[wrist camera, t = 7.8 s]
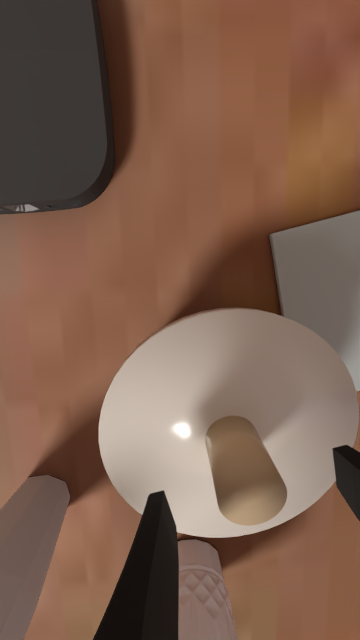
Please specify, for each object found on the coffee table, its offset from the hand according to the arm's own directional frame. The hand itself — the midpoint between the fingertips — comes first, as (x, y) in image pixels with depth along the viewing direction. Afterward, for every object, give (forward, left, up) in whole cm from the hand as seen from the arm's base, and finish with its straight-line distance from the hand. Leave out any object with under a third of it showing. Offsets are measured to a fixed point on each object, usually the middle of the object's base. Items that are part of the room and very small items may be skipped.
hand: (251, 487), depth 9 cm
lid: (0, 0, -4) cm, 4 cm away
